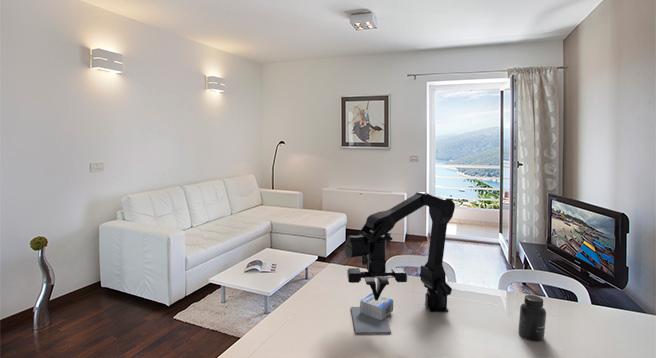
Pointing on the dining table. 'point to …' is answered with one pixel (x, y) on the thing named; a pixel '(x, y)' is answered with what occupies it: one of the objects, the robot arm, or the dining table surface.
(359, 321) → the mat
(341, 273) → the dining table surface
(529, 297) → the supplement bottle
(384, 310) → the medicine box
